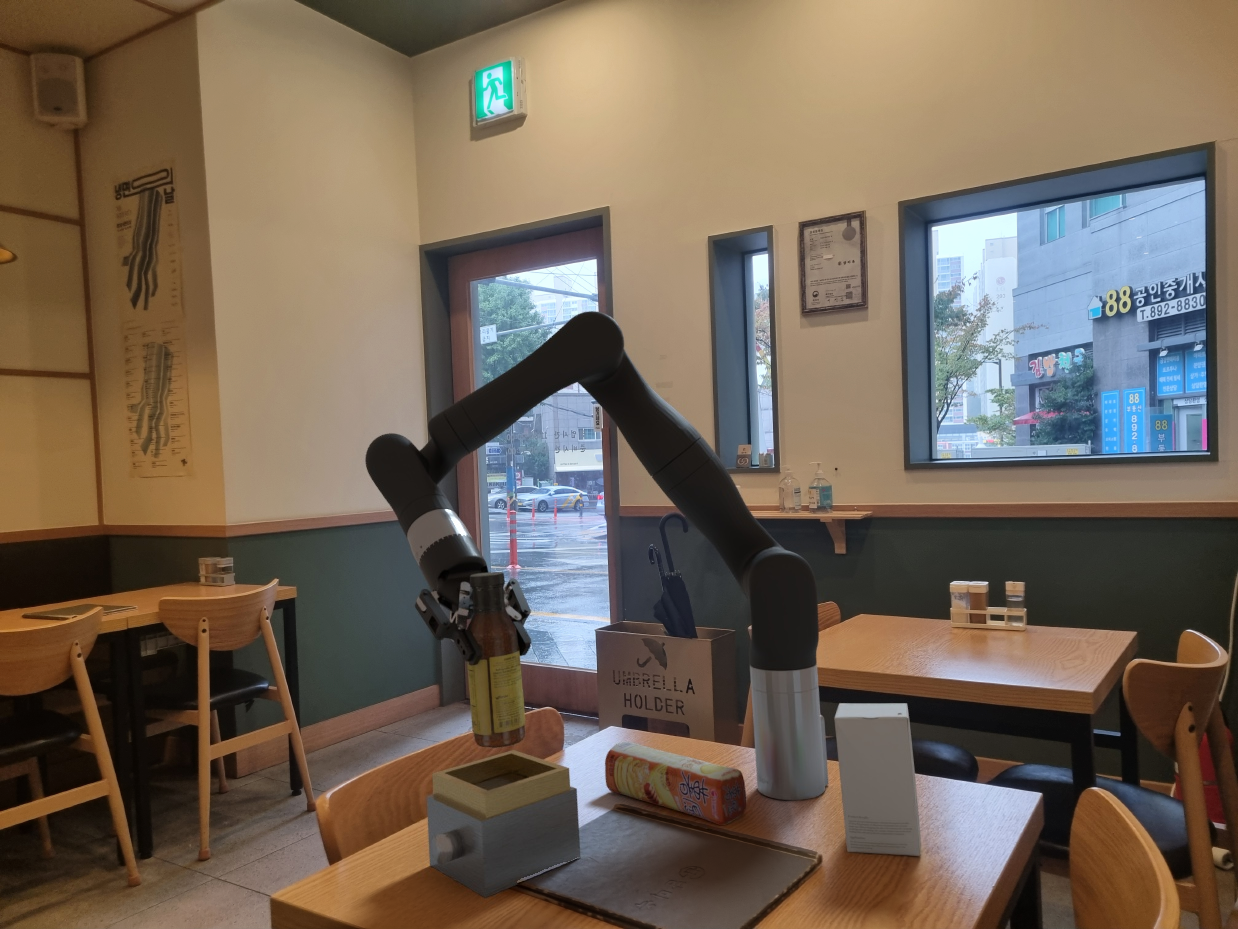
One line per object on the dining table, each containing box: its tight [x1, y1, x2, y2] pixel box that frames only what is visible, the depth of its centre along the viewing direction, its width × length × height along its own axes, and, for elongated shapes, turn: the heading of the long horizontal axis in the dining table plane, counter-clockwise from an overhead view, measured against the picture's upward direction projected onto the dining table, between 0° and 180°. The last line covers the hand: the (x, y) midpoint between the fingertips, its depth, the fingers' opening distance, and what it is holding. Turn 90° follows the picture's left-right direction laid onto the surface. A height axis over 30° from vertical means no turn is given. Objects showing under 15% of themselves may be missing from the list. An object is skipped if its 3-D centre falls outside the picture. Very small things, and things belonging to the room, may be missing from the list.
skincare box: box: [833, 702, 922, 857], centre depth 97 cm, size 8×7×16 cm
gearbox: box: [426, 749, 581, 898], centre depth 98 cm, size 15×12×10 cm
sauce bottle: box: [466, 571, 526, 749], centre depth 99 cm, size 7×6×20 cm
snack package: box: [604, 741, 747, 826], centre depth 114 cm, size 21×7×7 cm, turn 45°
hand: (501, 655), depth 98 cm, fingers closed on sauce bottle, 6 cm apart
